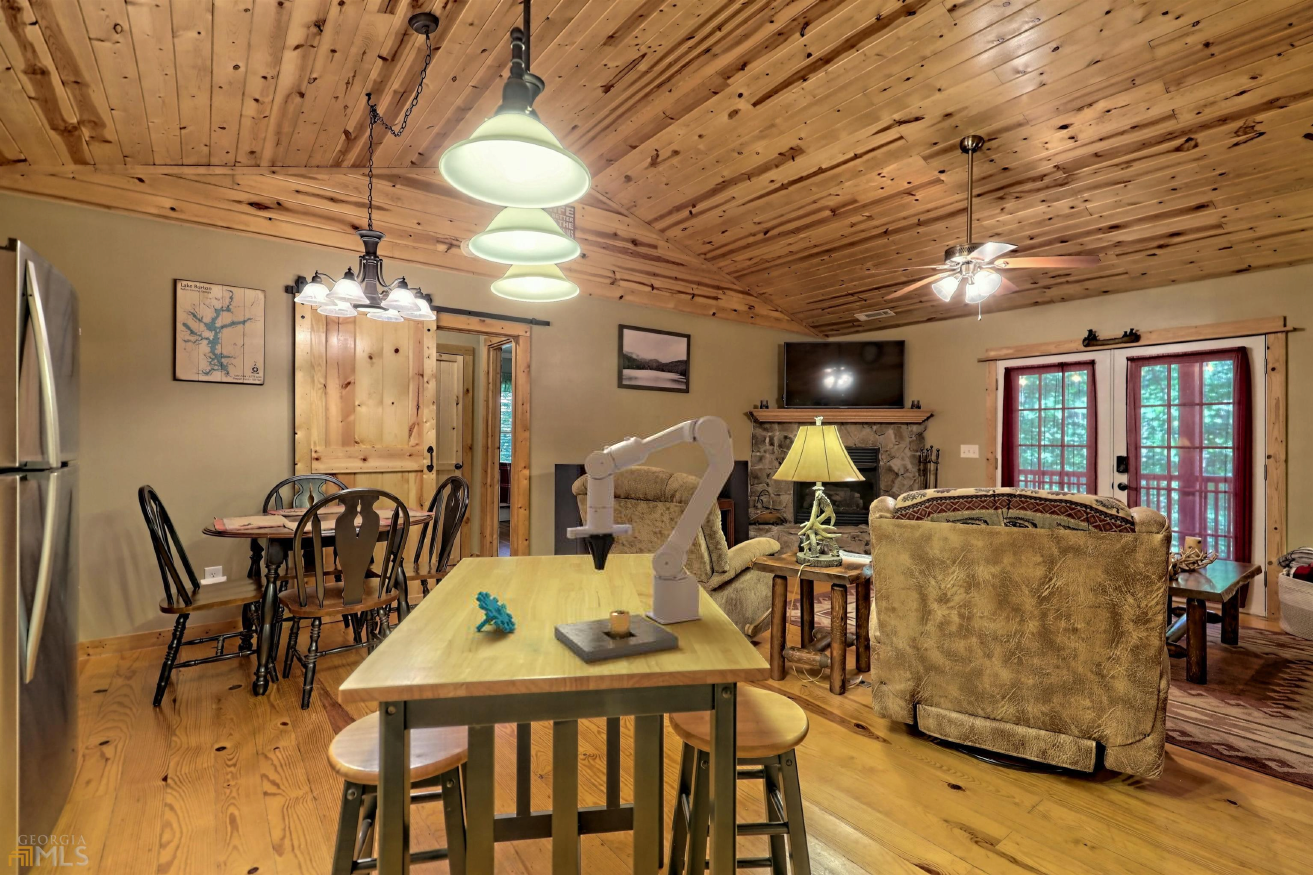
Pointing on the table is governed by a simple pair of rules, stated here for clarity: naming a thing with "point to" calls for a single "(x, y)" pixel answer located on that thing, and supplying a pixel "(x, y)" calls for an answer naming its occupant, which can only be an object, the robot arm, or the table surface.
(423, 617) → the table surface
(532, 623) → the table surface
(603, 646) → the plate
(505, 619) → the gear
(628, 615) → the bushing
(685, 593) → the robot arm
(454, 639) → the table surface
